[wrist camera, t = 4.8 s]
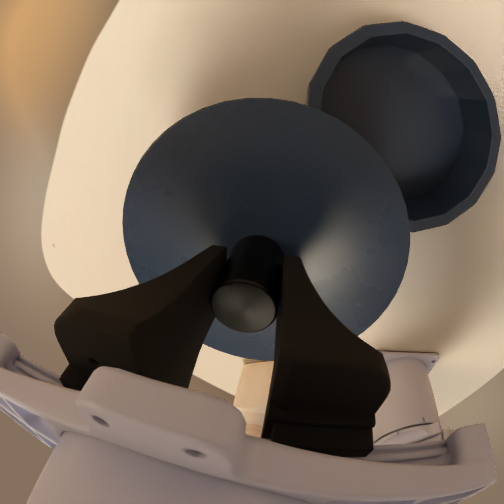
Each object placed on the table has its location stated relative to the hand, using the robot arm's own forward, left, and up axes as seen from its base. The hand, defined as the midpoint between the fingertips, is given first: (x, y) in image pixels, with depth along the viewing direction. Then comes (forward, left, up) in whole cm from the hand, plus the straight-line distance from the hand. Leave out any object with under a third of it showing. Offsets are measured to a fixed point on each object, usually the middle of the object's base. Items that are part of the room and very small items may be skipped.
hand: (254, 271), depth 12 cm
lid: (0, 0, -2) cm, 2 cm away
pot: (+7, -8, -10) cm, 15 cm away
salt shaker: (-20, -1, -11) cm, 23 cm away
